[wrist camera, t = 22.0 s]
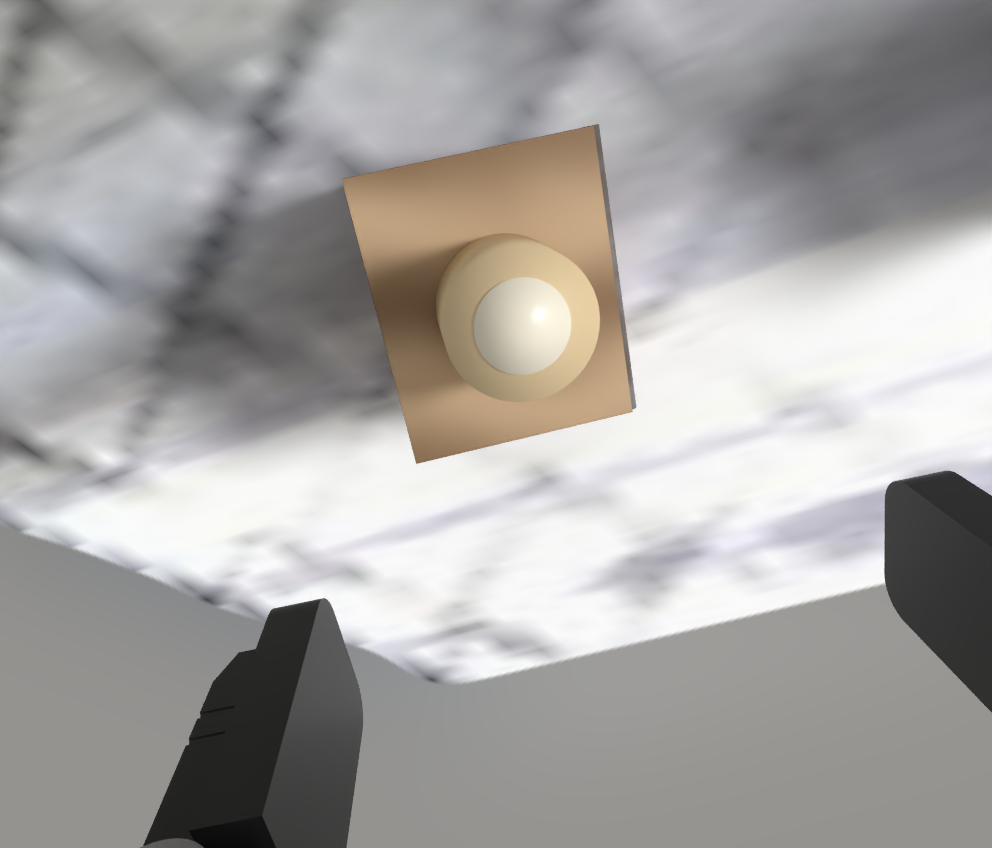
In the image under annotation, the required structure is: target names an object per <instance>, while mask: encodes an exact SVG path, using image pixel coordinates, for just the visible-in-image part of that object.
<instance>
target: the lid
mask: <svg viewBox="0 0 992 848" xmlns="http://www.w3.org/2000/svg"><path fill="white" fill-rule="evenodd" d="M342 182H343V186H344V190H345V194H346V198H347V201H348V205H349V209H350V213H351V217H352V220H353V224H354V228H355V232H356V236H357V240H358V243H359V247H360V251H361V255H362V259H363V262H364V266H365V270H366V274H367V278H368V281H369V285H370V289H371V293H372V297H373V300H374V304H375V308H376V312H377V316H378V319H379V323H380V327H381V331H382V335H383V338H384V342H385V346H386V350H387V354H388V358H389V361H390V365H391V369H392V373H393V377H394V380H395V384H396V388H397V392H398V396H399V399H400V403H401V407H402V411H403V415H404V418H405V422H406V426H407V430H408V434H409V437H410V441H411V445H412V449H413V453H414V456H415V460H416V464H418V463H422V462H426V461H430V460H434V459H438V458H443V457H447V456H451V455H455V454H459V453H463V452H468V451H472V450H476V449H480V448H484V447H488V446H493V445H497V444H501V443H505V442H509V441H513V440H518V439H522V438H526V437H530V436H534V435H538V434H543V433H547V432H551V431H555V430H559V429H563V428H568V427H572V426H576V425H580V424H584V423H588V422H593V421H597V420H601V419H605V418H609V417H613V416H618V415H622V414H626V413H630V412H632V409H635V408H636V401H635V393H634V386H633V378H632V371H631V363H630V356H629V348H628V341H627V333H626V326H625V318H624V311H623V303H622V295H621V288H620V280H619V273H618V265H617V258H616V250H615V243H614V235H613V228H612V220H611V213H610V205H609V197H608V190H607V182H606V175H605V167H604V160H603V152H602V145H601V137H600V130H599V124H597V125H592V126H587V127H583V128H579V129H574V130H569V131H565V132H560V133H555V134H551V135H546V136H541V137H537V138H532V139H527V140H523V141H518V142H513V143H509V144H504V145H499V146H495V147H490V148H485V149H480V150H476V151H471V152H466V153H462V154H457V155H452V156H448V157H443V158H438V159H434V160H429V161H424V162H420V163H415V164H410V165H406V166H401V167H396V168H392V169H387V170H382V171H378V172H373V173H368V174H364V175H359V176H354V177H349V178H345V179H342ZM500 233H512V234H520V235H523V236H527V237H530V238H532V239H534V240H537V241H538V242H540V243H542V244H544V245H546V246H547V247H549V248H551V249H553V250H554V251H556V252H558V253H560V254H561V255H563V256H565V257H566V258H568V259H569V260H571V261H572V262H573V263H574V264H575V265H577V266H578V268H579V269H580V270H581V271H582V272H583V273H584V274H585V276H586V277H587V279H588V280H589V282H590V284H591V285H592V287H593V289H594V292H595V295H596V298H597V301H598V306H599V313H600V329H599V335H598V340H597V343H596V346H595V349H594V352H593V354H592V356H591V358H590V360H589V361H588V363H587V365H586V366H585V368H584V369H583V370H582V371H581V373H580V374H579V375H578V376H577V377H576V378H575V379H574V380H573V381H572V382H571V383H570V384H568V385H567V386H566V387H564V388H563V389H561V390H560V391H558V392H556V393H554V394H552V395H550V396H548V397H545V398H542V399H538V400H534V401H528V402H507V401H502V400H498V399H495V398H492V397H489V396H487V395H485V394H483V393H481V392H479V391H477V390H476V389H475V388H473V387H472V386H470V385H469V384H468V383H467V382H466V381H465V380H464V379H463V378H462V377H461V376H460V374H459V373H458V372H457V370H456V369H455V367H454V366H453V364H452V362H451V360H450V358H449V356H448V353H447V350H446V347H445V343H444V340H443V337H442V334H441V331H440V327H439V324H438V321H437V315H436V293H437V288H438V284H439V281H440V279H441V276H442V274H443V272H444V270H445V268H446V267H447V265H448V264H449V262H450V261H451V260H452V258H453V257H454V256H455V255H456V254H457V253H458V252H459V251H460V250H462V249H463V248H464V247H465V246H467V245H468V244H470V243H472V242H473V241H475V240H478V239H480V238H482V237H485V236H489V235H493V234H500Z"/></svg>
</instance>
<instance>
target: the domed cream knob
mask: <svg viewBox="0 0 992 848" xmlns="http://www.w3.org/2000/svg"><path fill="white" fill-rule="evenodd" d="M436 315H437V321H438V324H439V327H440V331H441V334H442V337H443V340H444V343H445V347H446V350H447V353H448V356H449V358H450V360H451V362H452V364H453V366H454V367H455V369H456V370H457V372H458V373H459V374H460V376H461V377H462V378H463V379H464V380H465V381H466V382H467V383H468V384H469V385H470V386H472V387H473V388H475V389H476V390H477V391H479V392H481V393H483V394H485V395H487V396H489V397H492V398H495V399H498V400H502V401H507V402H528V401H534V400H538V399H542V398H545V397H548V396H550V395H552V394H554V393H556V392H558V391H560V390H561V389H563V388H564V387H566V386H567V385H568V384H570V383H571V382H572V381H573V380H574V379H575V378H576V377H577V376H578V375H579V374H580V373H581V371H582V370H583V369H584V368H585V366H586V365H587V363H588V361H589V360H590V358H591V356H592V354H593V352H594V349H595V346H596V343H597V340H598V335H599V329H600V313H599V306H598V301H597V298H596V295H595V292H594V289H593V287H592V285H591V284H590V282H589V280H588V279H587V277H586V276H585V274H584V273H583V272H582V271H581V270H580V269H579V268H578V266H577V265H575V264H574V263H573V262H572V261H571V260H569V259H568V258H566V257H565V256H563V255H561V254H560V253H558V252H556V251H554V250H553V249H551V248H549V247H547V246H546V245H544V244H542V243H540V242H538V241H537V240H534V239H532V238H530V237H527V236H523V235H520V234H512V233H500V234H493V235H489V236H485V237H482V238H480V239H478V240H475V241H473V242H472V243H470V244H468V245H467V246H465V247H464V248H463V249H462V250H460V251H459V252H458V253H457V254H456V255H455V256H454V257H453V258H452V260H451V261H450V262H449V264H448V265H447V267H446V268H445V270H444V272H443V274H442V276H441V279H440V281H439V284H438V288H437V293H436Z"/></svg>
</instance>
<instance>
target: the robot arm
mask: <svg viewBox="0 0 992 848" xmlns="http://www.w3.org/2000/svg"><path fill="white" fill-rule="evenodd" d="M885 583H886V587H887V591H888V594H889V597H890V599H891V602H892V604H893V606H894V607H895V609H896V611H897V613H898V614H899V615H900V617H901V618H902V619H903V621H904V622H905V623H906V624H907V625H908V626H909V627H910V628H911V629H912V630H913V631H914V632H915V633H916V634H917V635H918V636H919V637H920V638H921V639H922V640H923V641H924V642H925V644H926V645H927V646H928V647H929V648H930V649H931V650H932V651H933V652H934V653H935V654H936V655H937V656H938V657H939V658H940V659H941V660H942V661H943V662H944V663H945V664H946V665H947V666H948V667H949V668H950V669H951V670H952V672H953V673H954V674H955V675H956V676H957V677H958V678H959V679H960V680H961V681H962V682H963V683H964V684H965V685H966V686H967V687H968V688H969V689H970V690H971V691H972V692H973V693H974V694H975V696H977V698H978V699H979V700H980V701H981V702H982V703H983V704H984V705H985V706H986V707H987V708H988V709H989V710H990V711H991V712H992V496H991V495H990V494H988V493H986V492H985V491H983V490H982V489H980V488H979V487H977V486H976V485H974V484H972V483H971V482H969V481H968V480H966V479H965V478H963V477H962V476H960V475H959V474H957V473H955V472H952V471H942V472H937V473H932V474H928V475H923V476H918V477H913V478H908V479H903V480H899V481H894V482H892V483H891V484H890V485H889V486H888V488H887V490H886V494H885ZM200 715H201V717H200V718H199V719H197V721H196V723H195V725H194V728H193V730H192V732H191V735H190V737H189V745H187V746H186V747H185V749H184V751H183V754H182V756H181V758H180V761H179V763H178V765H177V768H176V770H175V772H174V775H173V777H172V779H171V782H170V784H169V787H168V789H167V791H166V794H165V796H164V798H163V801H162V803H161V805H160V808H159V810H158V812H157V815H156V817H155V819H154V822H153V824H152V827H151V829H150V831H149V833H148V836H147V838H146V840H145V843H144V845H143V847H141V848H346V846H347V839H348V832H349V825H350V817H351V809H352V803H353V795H354V788H355V781H356V773H357V766H358V758H359V752H360V744H361V737H362V728H363V709H362V700H361V694H360V689H359V685H358V682H357V679H356V676H355V673H354V670H353V667H352V664H351V661H350V658H349V655H348V652H347V649H346V646H345V643H344V640H343V637H342V634H341V631H340V628H339V625H338V622H337V620H336V617H335V614H334V611H333V608H332V606H331V604H330V603H329V601H328V600H327V599H325V598H323V599H318V600H313V601H308V602H303V603H298V604H294V605H289V606H284V607H279V608H274V609H272V610H271V611H270V613H269V615H268V618H267V620H266V623H265V626H264V629H263V631H262V634H261V637H260V639H259V642H258V645H257V648H256V649H254V650H250V651H244V652H239V653H238V654H237V655H236V657H235V658H234V659H233V660H232V661H231V662H230V663H229V665H228V666H227V667H226V668H225V669H224V670H223V671H222V672H221V674H220V675H219V676H218V677H217V678H216V679H215V680H214V681H213V683H212V686H211V688H210V690H209V693H208V695H207V697H206V700H205V702H204V704H203V707H202V709H201V711H200Z"/></svg>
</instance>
